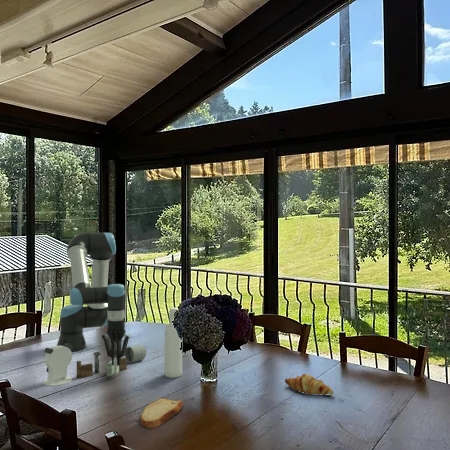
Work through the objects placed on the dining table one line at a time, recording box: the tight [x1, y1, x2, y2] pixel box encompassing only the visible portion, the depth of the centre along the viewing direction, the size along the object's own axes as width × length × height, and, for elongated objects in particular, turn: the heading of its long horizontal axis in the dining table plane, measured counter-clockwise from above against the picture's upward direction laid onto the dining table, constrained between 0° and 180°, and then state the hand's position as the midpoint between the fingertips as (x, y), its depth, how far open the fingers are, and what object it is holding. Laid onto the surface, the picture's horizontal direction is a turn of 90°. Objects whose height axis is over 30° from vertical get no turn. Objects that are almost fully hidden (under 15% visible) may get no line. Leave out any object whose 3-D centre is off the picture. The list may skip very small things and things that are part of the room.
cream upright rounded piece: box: [43, 343, 73, 387], centre depth 191 cm, size 12×11×15 cm
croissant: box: [284, 373, 334, 396], centre depth 181 cm, size 21×10×8 cm, turn 57°
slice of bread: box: [139, 397, 184, 429], centre depth 158 cm, size 18×18×4 cm
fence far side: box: [76, 360, 94, 379], centre depth 197 cm, size 2×7×7 cm, turn 124°
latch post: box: [93, 351, 101, 374], centre depth 202 cm, size 2×2×9 cm
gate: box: [106, 359, 115, 377], centre depth 200 cm, size 8×2×6 cm, turn 174°
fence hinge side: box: [116, 356, 127, 371], centre depth 206 cm, size 2×6×10 cm, turn 125°
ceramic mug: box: [124, 345, 147, 364], centre depth 221 cm, size 11×8×8 cm
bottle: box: [163, 307, 183, 379], centre depth 200 cm, size 8×8×30 cm
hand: (116, 372), depth 197 cm, fingers closed
